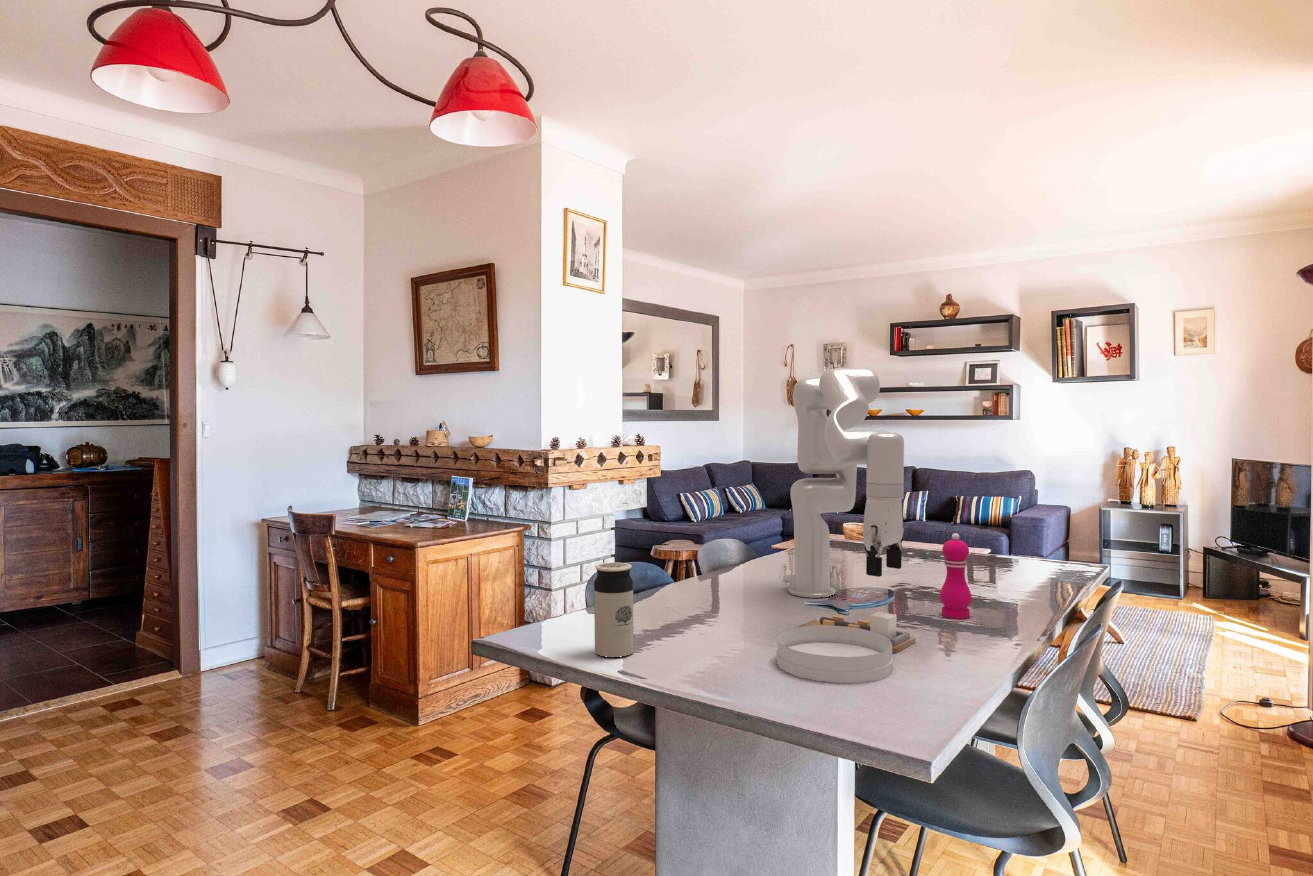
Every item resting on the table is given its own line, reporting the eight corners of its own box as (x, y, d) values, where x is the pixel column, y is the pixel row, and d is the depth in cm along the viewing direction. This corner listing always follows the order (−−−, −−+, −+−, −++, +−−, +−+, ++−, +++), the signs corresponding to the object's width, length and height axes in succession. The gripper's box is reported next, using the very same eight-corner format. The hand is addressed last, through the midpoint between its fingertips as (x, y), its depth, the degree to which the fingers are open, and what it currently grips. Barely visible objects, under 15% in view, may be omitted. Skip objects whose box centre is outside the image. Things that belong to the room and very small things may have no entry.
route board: (792, 633, 171) (792, 628, 171) (814, 623, 179) (814, 619, 179) (895, 653, 155) (895, 648, 155) (915, 642, 163) (915, 637, 163)
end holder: (864, 640, 161) (864, 634, 161) (879, 633, 167) (879, 627, 167) (895, 646, 157) (895, 640, 157) (909, 638, 162) (909, 632, 162)
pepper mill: (966, 612, 188) (966, 531, 188) (975, 619, 181) (975, 535, 181) (936, 611, 189) (936, 531, 189) (944, 619, 182) (944, 535, 181)
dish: (818, 642, 165) (818, 619, 165) (914, 665, 149) (914, 639, 149) (753, 665, 149) (753, 640, 149) (852, 693, 133) (852, 665, 133)
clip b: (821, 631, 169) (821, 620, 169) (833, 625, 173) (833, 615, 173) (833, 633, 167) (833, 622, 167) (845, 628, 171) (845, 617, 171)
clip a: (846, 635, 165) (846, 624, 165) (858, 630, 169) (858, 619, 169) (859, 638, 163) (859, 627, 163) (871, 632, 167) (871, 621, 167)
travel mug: (589, 650, 159) (588, 563, 159) (625, 645, 162) (624, 560, 162) (602, 661, 152) (601, 570, 152) (639, 655, 155) (638, 567, 155)
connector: (815, 626, 171) (816, 604, 170) (824, 622, 174) (824, 600, 173) (888, 642, 160) (888, 618, 159) (895, 638, 163) (896, 615, 162)
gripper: (885, 486, 171) (884, 562, 171) (849, 493, 157) (848, 576, 158) (918, 488, 166) (917, 567, 166) (884, 496, 153) (883, 581, 153)
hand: (884, 571), depth 162 cm, fingers open, 9 cm apart
